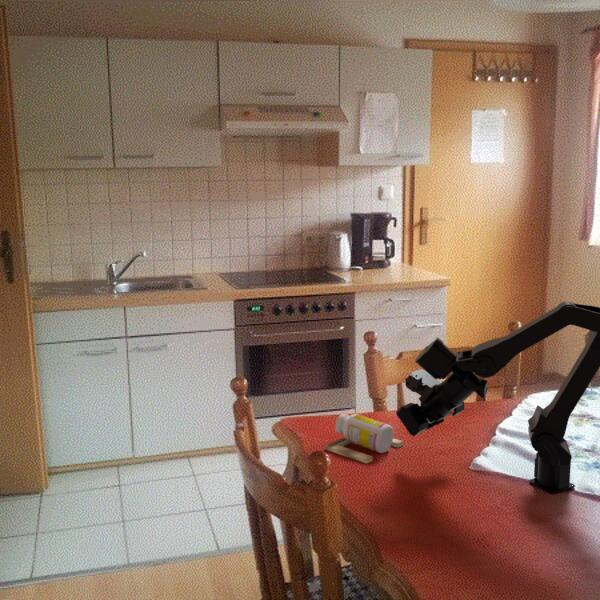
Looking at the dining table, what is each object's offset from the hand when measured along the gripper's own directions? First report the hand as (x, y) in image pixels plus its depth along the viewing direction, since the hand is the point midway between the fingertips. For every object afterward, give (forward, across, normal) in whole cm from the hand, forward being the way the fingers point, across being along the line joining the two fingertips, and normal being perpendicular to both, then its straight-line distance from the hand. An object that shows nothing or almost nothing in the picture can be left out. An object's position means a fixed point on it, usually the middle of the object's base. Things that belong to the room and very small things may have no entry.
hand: (408, 430), depth 158 cm
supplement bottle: (+7, 0, -1) cm, 7 cm away
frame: (+13, 0, -3) cm, 13 cm away
